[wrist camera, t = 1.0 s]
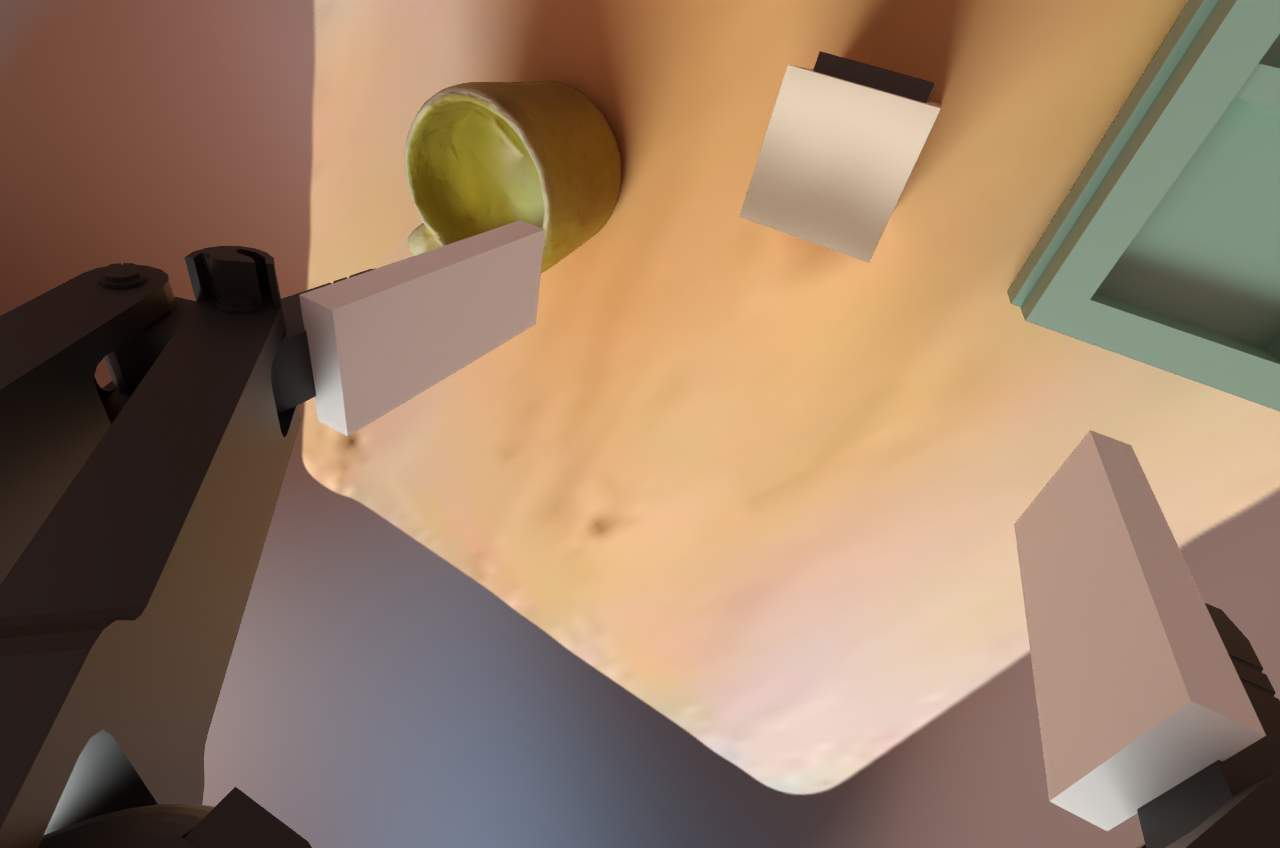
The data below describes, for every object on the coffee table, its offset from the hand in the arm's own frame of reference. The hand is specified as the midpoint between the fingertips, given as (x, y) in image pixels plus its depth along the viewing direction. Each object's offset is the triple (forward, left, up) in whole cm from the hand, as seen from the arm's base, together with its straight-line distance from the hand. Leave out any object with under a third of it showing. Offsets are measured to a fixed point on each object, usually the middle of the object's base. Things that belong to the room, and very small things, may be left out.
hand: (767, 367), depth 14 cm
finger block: (-3, -1, -19) cm, 20 cm away
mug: (+4, -18, -20) cm, 27 cm away
